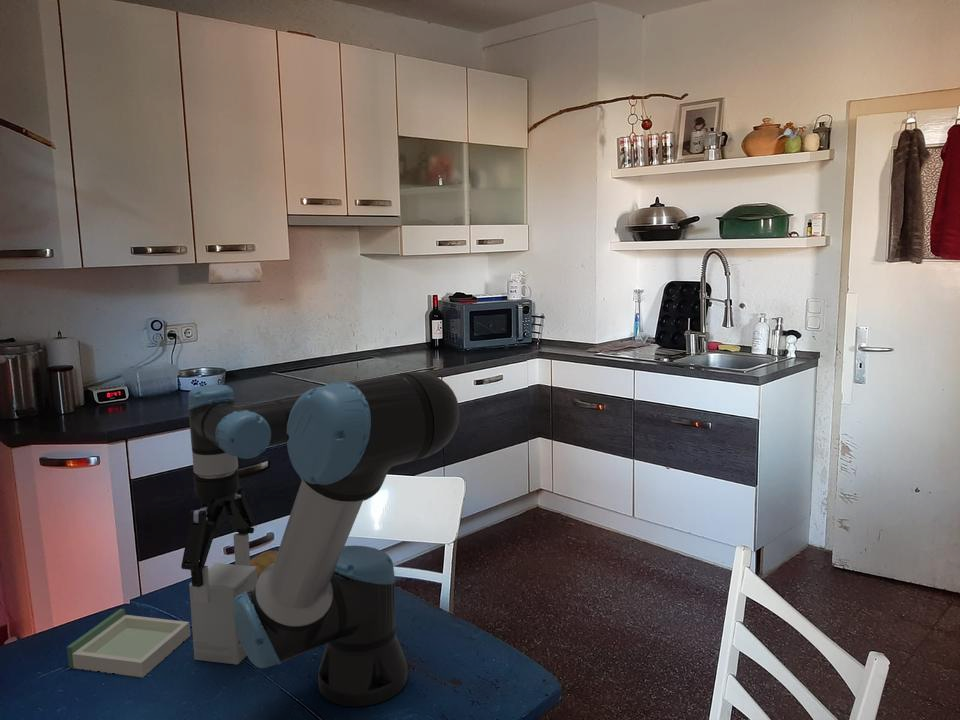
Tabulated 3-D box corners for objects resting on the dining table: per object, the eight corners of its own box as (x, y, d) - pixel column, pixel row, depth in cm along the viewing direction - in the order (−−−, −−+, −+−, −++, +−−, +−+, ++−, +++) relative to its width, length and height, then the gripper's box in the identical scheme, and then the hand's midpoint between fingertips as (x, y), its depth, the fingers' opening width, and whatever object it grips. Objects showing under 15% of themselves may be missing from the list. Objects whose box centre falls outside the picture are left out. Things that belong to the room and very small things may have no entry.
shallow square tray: (190, 635, 143) (188, 616, 142) (142, 677, 129) (140, 656, 129) (122, 627, 146) (120, 608, 145) (68, 667, 132) (66, 647, 132)
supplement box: (238, 666, 132) (233, 587, 130) (193, 661, 134) (186, 583, 132) (263, 639, 141) (258, 565, 139) (220, 634, 143) (214, 561, 140)
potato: (298, 579, 166) (296, 545, 164) (268, 610, 152) (266, 573, 151) (258, 575, 168) (256, 542, 166) (225, 605, 154) (222, 569, 153)
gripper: (234, 450, 145) (240, 552, 149) (152, 494, 121) (162, 615, 125) (269, 452, 143) (275, 555, 147) (193, 498, 119) (202, 620, 123)
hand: (223, 583), depth 136 cm, fingers open, 13 cm apart
